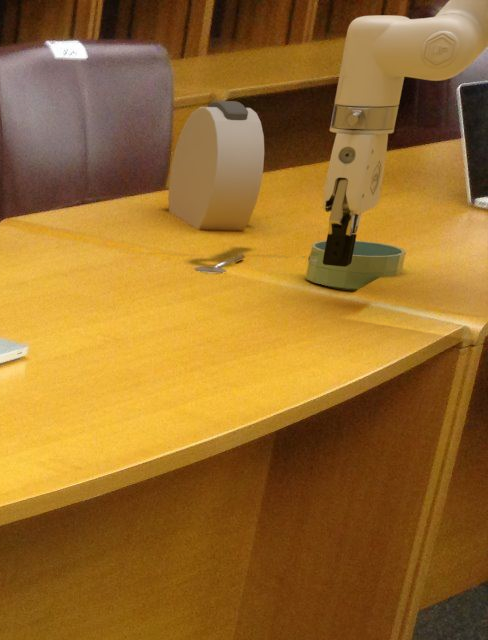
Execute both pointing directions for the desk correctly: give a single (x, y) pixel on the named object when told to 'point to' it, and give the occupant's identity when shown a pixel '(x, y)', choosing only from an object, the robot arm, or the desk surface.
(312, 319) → the desk surface
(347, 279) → the bowl
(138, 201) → the desk surface
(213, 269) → the spoon
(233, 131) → the alarm clock
